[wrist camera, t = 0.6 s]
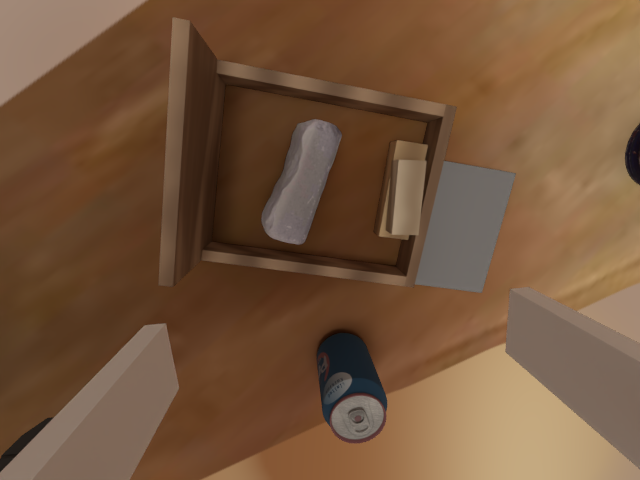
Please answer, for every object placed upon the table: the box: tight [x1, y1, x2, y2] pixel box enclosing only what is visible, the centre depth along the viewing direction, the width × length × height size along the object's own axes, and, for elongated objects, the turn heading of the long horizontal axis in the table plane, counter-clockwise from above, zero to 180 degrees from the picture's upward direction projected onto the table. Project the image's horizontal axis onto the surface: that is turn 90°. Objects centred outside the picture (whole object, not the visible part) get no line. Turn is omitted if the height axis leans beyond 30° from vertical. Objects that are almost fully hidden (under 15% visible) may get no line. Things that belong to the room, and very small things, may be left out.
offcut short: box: [386, 160, 427, 235], centre depth 34 cm, size 3×8×2 cm, turn 178°
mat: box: [415, 161, 516, 293], centre depth 40 cm, size 11×16×1 cm
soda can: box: [317, 333, 387, 443], centre depth 37 cm, size 7×7×12 cm
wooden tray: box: [158, 17, 457, 287], centre depth 31 cm, size 26×20×12 cm
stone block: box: [261, 119, 342, 245], centre depth 32 cm, size 12×5×10 cm, turn 158°
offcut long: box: [374, 140, 428, 240], centre depth 37 cm, size 4×11×3 cm, turn 172°
